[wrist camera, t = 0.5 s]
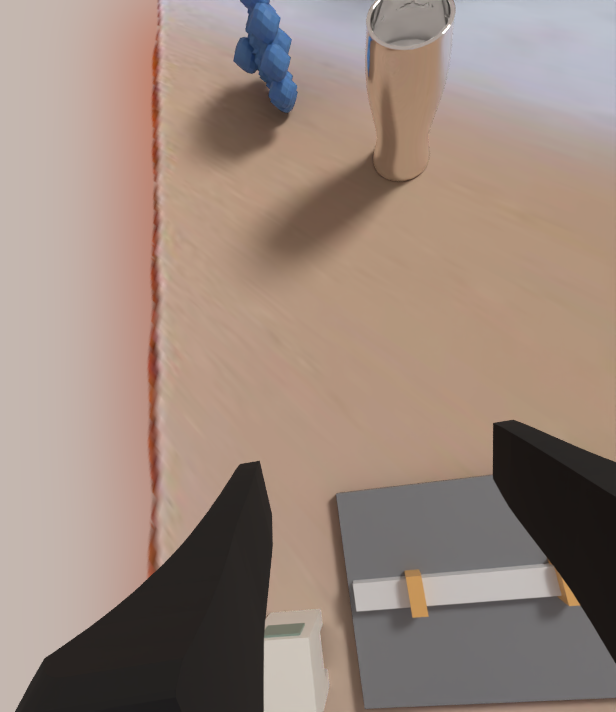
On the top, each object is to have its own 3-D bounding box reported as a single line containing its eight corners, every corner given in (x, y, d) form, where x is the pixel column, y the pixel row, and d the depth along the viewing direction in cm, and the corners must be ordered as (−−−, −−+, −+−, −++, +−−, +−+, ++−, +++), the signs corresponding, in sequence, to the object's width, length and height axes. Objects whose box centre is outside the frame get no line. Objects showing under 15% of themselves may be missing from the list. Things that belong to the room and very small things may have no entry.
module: (329, 685, 33) (318, 731, 27) (276, 688, 34) (255, 734, 28) (320, 606, 35) (308, 635, 29) (270, 610, 35) (248, 639, 30)
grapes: (241, 71, 52) (201, -39, 40) (291, 53, 51) (265, -64, 40) (259, 142, 48) (221, 43, 37) (312, 123, 48) (291, 16, 36)
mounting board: (665, 687, 29) (696, 711, 26) (365, 701, 32) (363, 724, 29) (596, 462, 34) (615, 462, 31) (337, 493, 37) (333, 495, 34)
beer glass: (415, 194, 43) (431, 61, 29) (357, 172, 45) (346, 38, 31) (444, 143, 44) (475, -10, 30) (387, 124, 46) (390, -29, 32)
